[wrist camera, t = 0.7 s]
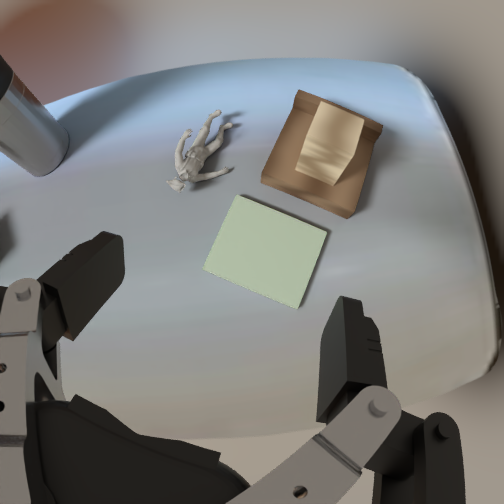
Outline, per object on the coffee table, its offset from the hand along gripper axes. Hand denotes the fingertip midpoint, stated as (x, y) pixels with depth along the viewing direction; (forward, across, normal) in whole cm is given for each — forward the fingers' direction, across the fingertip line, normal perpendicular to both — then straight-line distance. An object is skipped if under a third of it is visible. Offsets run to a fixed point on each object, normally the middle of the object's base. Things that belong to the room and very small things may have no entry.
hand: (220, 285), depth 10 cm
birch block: (+29, -4, +1) cm, 30 cm away
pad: (+23, 0, +12) cm, 26 cm away
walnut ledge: (+32, -4, +2) cm, 32 cm away
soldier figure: (+30, +11, +4) cm, 32 cm away
